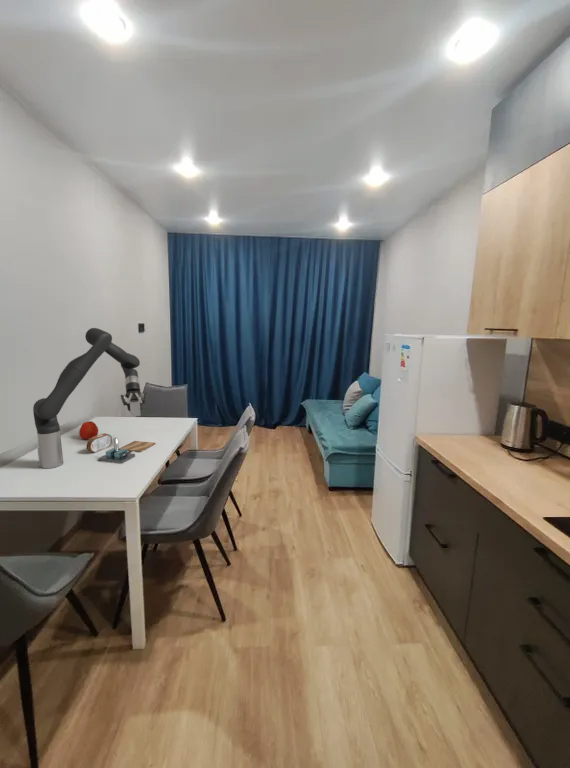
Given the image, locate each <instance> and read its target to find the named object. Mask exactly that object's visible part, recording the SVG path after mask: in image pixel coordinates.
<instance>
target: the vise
mask: <svg viewBox="0 0 570 768" xmlns="http://www.w3.org/2000/svg"><path fill="white" fill-rule="evenodd" d="M112 442H113V448H110V449H108V450H107V451H105V454H104V455H101V456H100V457H98V458H97V461H98V462H103V461H105V462H106V463H112V462H114V464H121V463H122V464H124V463H126V462H128V461H130V460H131V459H134V458H135V457H136V454H135V453H133V452H132V451H127V449H121V450H119V447H120V446H119V438H118V437H113V438H112ZM105 462H104V463H105Z"/></svg>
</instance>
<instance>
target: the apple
mask: <svg viewBox="0 0 570 768" xmlns="http://www.w3.org/2000/svg"><path fill="white" fill-rule="evenodd" d="M78 432H79V433H78V434H79V437H80V438H81V439H82V440H85V439H86V440H89V439H90V438H92V437H95V436H98V435H99V434H98V433H99V427H98V426H97V424H96V423H95V422H93V421H91V420H89V421H85V422H83V423H82V424H81V426H80V428H79V431H78Z"/></svg>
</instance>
